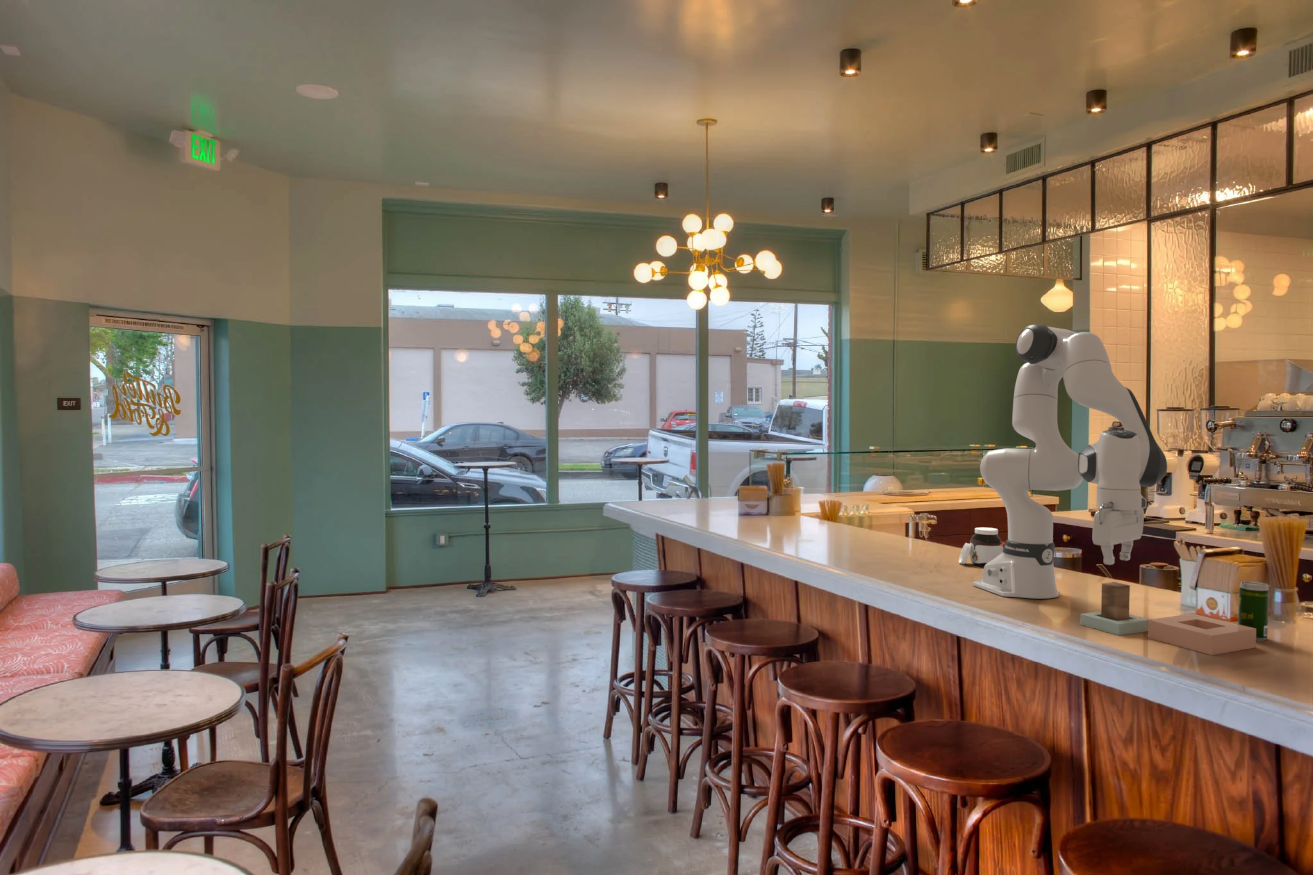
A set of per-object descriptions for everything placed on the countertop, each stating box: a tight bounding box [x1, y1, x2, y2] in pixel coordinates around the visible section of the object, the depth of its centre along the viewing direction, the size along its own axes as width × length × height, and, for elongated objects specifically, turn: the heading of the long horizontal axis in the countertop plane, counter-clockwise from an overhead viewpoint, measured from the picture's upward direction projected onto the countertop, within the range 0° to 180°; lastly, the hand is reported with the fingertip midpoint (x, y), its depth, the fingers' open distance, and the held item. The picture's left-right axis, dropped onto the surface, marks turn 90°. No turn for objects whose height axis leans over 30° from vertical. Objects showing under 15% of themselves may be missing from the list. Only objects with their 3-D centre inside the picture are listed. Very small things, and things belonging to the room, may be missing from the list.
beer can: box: [1237, 580, 1270, 642], centre depth 187 cm, size 5×5×12 cm
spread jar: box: [958, 526, 1004, 568], centre depth 272 cm, size 12×11×12 cm
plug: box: [1100, 581, 1131, 621], centre depth 196 cm, size 4×4×10 cm
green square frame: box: [1079, 611, 1151, 636], centre depth 196 cm, size 10×10×2 cm
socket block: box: [1147, 613, 1257, 656], centre depth 184 cm, size 14×14×4 cm
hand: (1117, 562), depth 195 cm, fingers open, 8 cm apart
